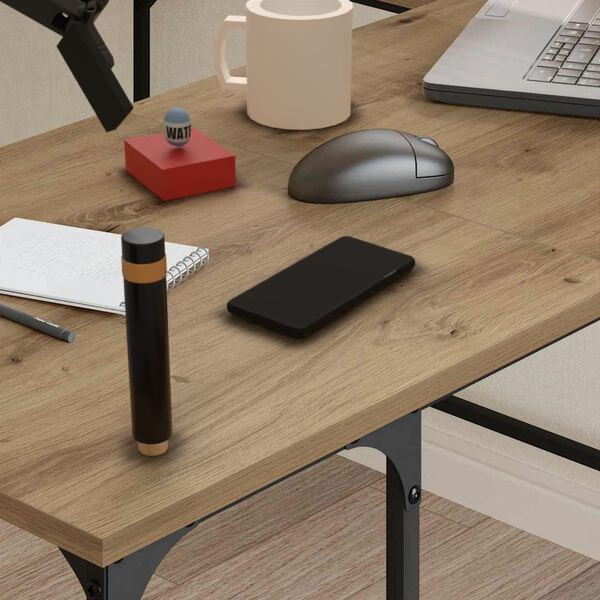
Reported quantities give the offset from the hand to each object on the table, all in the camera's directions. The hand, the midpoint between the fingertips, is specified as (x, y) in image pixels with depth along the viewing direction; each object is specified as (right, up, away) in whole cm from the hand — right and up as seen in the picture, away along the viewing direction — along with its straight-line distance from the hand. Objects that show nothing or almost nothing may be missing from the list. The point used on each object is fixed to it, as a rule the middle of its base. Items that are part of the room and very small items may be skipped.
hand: (31, 149), depth 84 cm
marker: (+7, -18, +1) cm, 19 cm away
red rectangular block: (+5, +2, +40) cm, 40 cm away
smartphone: (+18, -8, +20) cm, 28 cm away
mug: (+15, +10, +56) cm, 58 cm away
